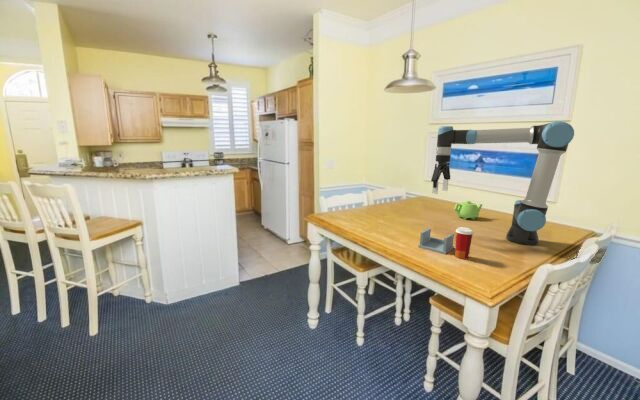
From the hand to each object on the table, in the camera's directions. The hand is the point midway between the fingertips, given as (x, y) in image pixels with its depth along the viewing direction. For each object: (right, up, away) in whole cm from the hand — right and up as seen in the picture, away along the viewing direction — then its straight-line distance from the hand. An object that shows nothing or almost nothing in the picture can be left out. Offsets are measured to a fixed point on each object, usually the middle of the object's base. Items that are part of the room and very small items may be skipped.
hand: (439, 191), depth 171 cm
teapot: (+37, -18, +44) cm, 60 cm away
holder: (-8, -30, -15) cm, 34 cm away
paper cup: (0, -32, -27) cm, 42 cm away
